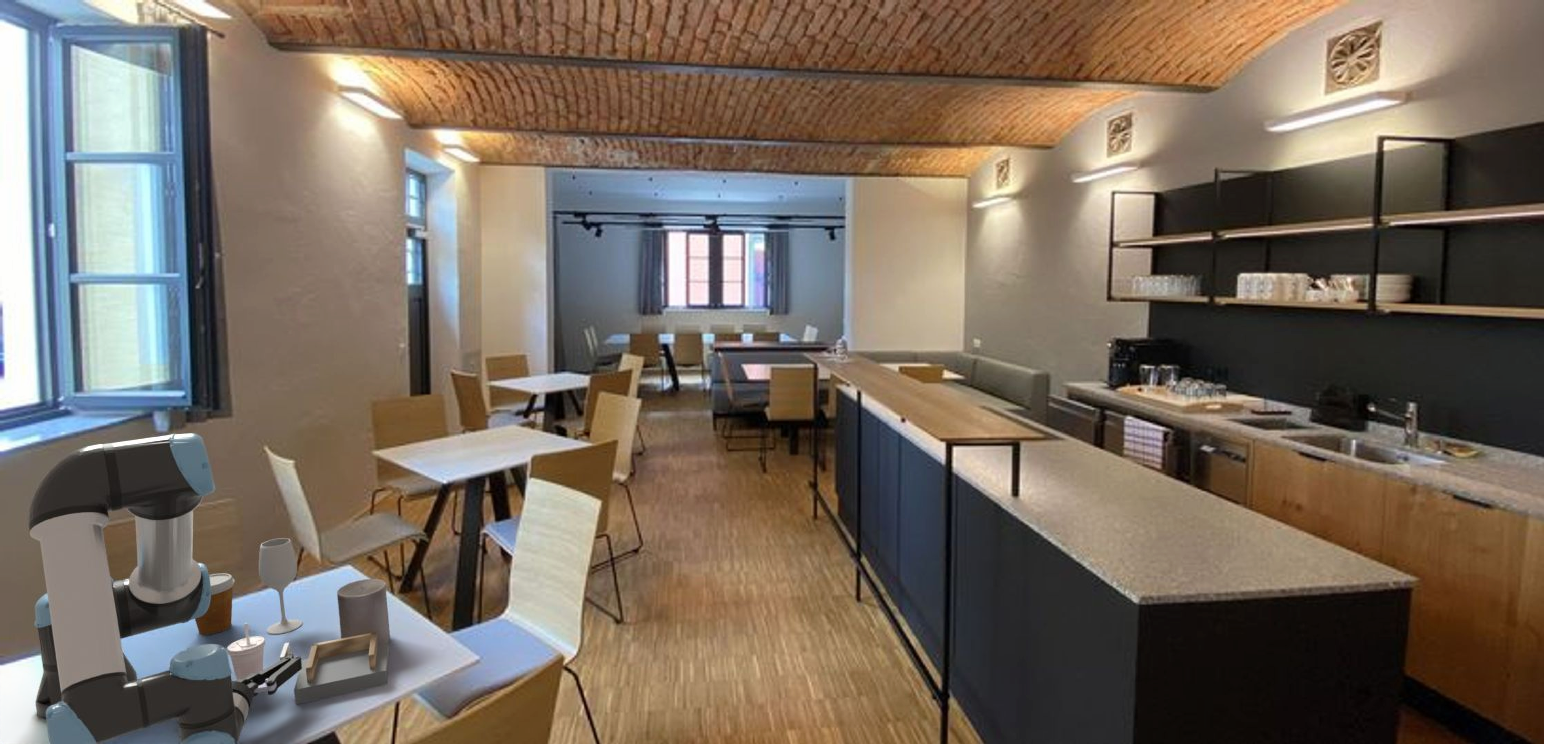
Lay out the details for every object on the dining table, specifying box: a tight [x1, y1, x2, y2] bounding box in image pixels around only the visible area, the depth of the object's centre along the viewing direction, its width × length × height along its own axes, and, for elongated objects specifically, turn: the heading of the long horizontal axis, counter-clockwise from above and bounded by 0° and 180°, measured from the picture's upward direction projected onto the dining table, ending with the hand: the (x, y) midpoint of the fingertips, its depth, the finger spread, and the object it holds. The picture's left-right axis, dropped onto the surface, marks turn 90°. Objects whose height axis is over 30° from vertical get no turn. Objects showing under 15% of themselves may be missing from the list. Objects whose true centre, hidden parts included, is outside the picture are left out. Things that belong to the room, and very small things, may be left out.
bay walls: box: [306, 632, 378, 682], centre depth 158 cm, size 12×11×3 cm
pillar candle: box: [336, 578, 391, 645], centre depth 171 cm, size 10×10×15 cm
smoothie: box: [226, 622, 266, 681], centre depth 153 cm, size 6×6×14 cm
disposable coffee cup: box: [194, 572, 236, 635], centre depth 180 cm, size 10×10×12 cm
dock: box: [293, 643, 390, 705], centre depth 157 cm, size 16×13×3 cm
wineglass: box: [258, 537, 303, 635], centre depth 180 cm, size 8×8×21 cm
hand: (247, 656), depth 153 cm, fingers open, 13 cm apart
